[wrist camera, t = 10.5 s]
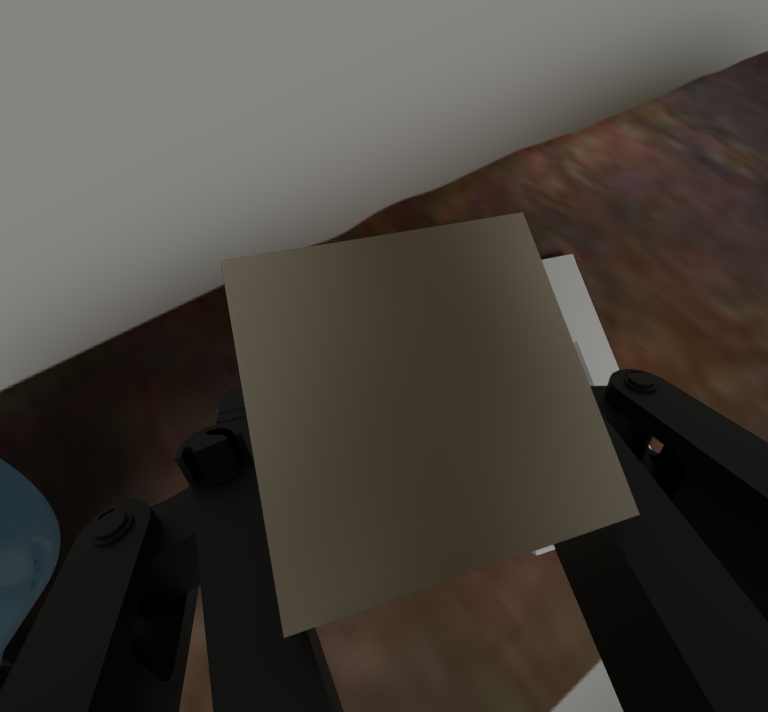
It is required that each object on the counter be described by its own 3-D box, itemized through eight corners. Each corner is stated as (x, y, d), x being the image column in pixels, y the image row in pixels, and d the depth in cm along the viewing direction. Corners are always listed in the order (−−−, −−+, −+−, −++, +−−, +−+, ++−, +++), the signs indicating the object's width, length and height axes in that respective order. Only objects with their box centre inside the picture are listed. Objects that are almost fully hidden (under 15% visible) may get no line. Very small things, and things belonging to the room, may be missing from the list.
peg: (328, 491, 18) (283, 637, 4) (308, 394, 19) (221, 261, 5) (422, 464, 18) (639, 514, 5) (397, 373, 20) (522, 212, 6)
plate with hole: (522, 547, 27) (536, 555, 25) (442, 287, 31) (448, 277, 30) (652, 502, 29) (674, 506, 27) (559, 264, 34) (572, 253, 32)
